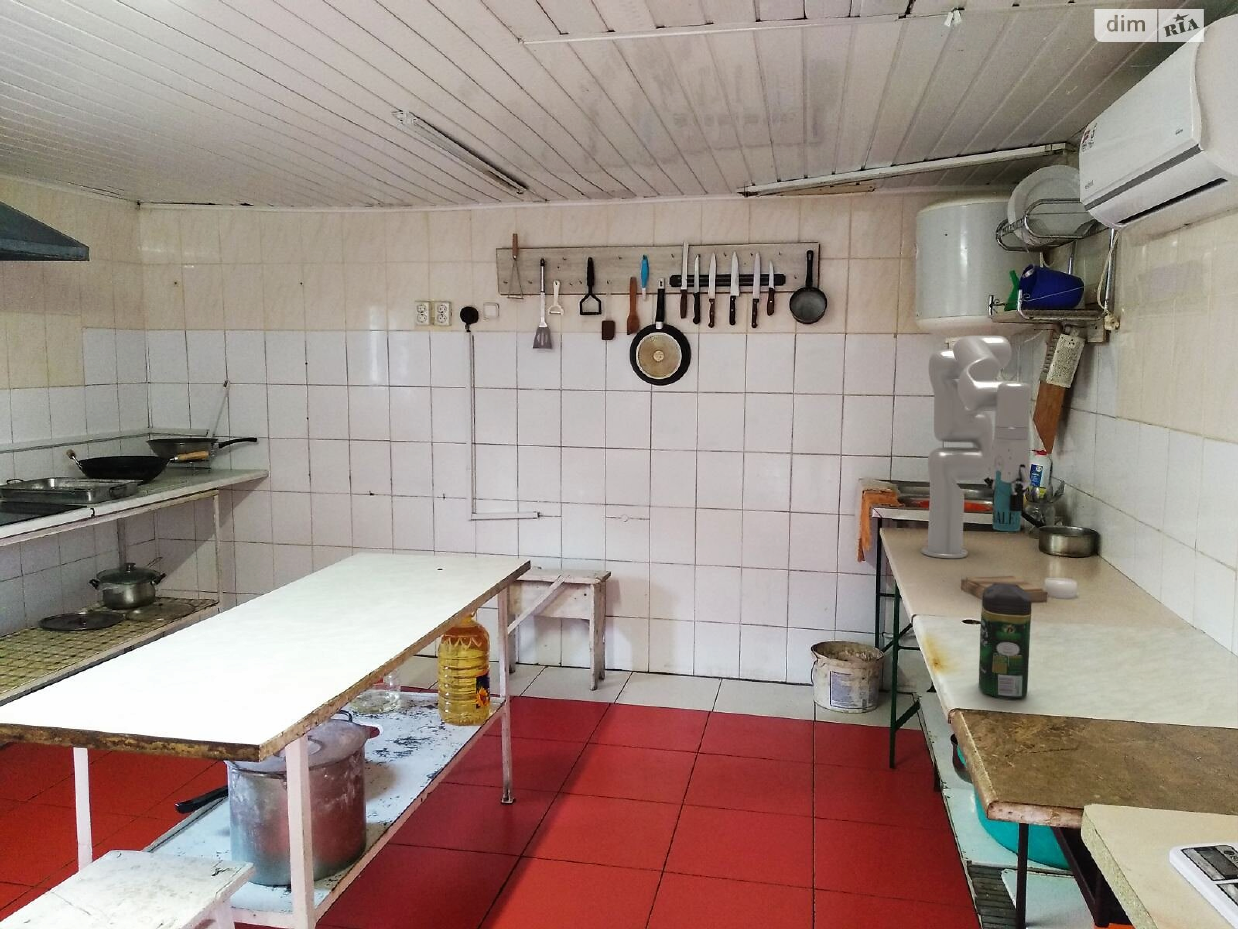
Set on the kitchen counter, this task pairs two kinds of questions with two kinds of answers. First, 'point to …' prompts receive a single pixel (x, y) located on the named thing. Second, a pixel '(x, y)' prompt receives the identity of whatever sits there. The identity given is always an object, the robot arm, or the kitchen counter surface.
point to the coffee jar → (1005, 641)
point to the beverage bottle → (1004, 507)
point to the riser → (980, 583)
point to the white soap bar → (1061, 587)
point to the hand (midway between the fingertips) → (1007, 507)
